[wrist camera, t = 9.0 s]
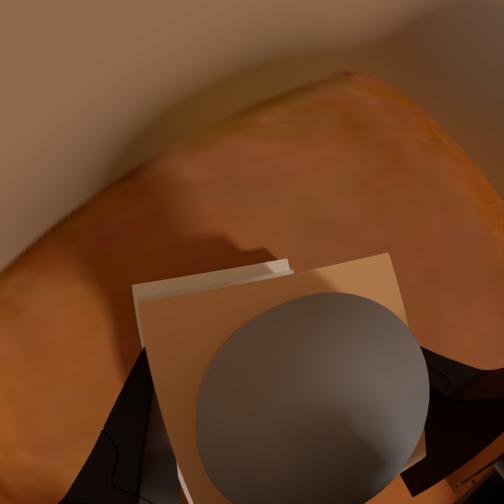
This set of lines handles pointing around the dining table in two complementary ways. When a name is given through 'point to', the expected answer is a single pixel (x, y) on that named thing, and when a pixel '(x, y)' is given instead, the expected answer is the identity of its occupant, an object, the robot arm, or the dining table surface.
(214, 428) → the block
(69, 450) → the dining table surface
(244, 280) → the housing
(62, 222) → the dining table surface
